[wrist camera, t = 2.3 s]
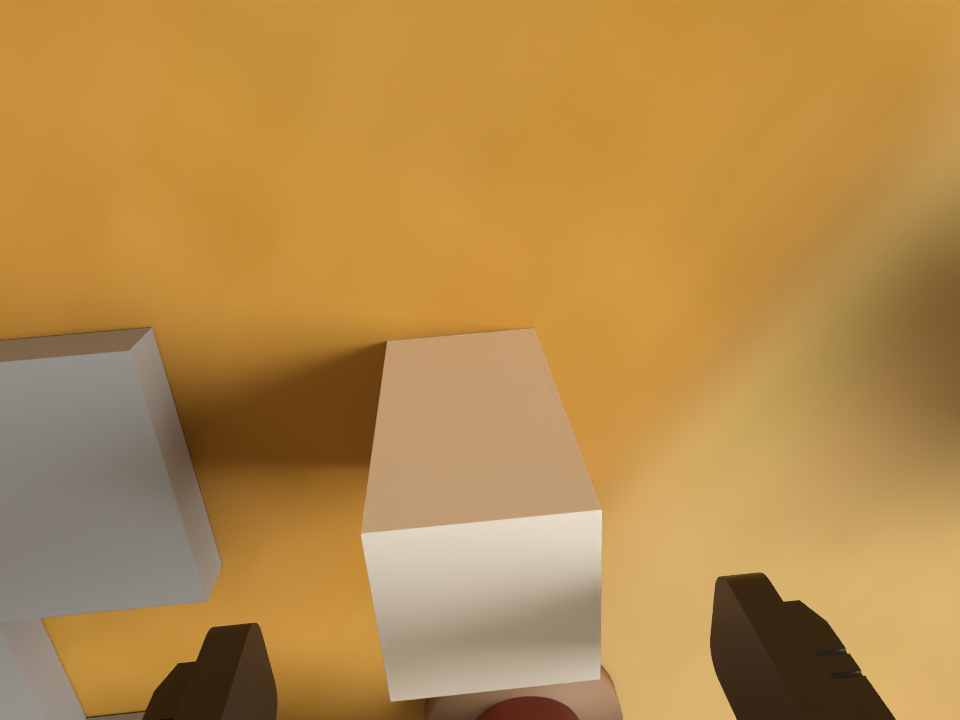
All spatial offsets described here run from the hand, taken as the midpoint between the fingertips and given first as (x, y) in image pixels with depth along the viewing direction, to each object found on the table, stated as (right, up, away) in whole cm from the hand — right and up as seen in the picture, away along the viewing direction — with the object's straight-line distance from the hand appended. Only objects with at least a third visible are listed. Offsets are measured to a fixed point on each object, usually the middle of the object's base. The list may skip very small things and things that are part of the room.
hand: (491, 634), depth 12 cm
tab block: (-1, +4, +7) cm, 8 cm away
